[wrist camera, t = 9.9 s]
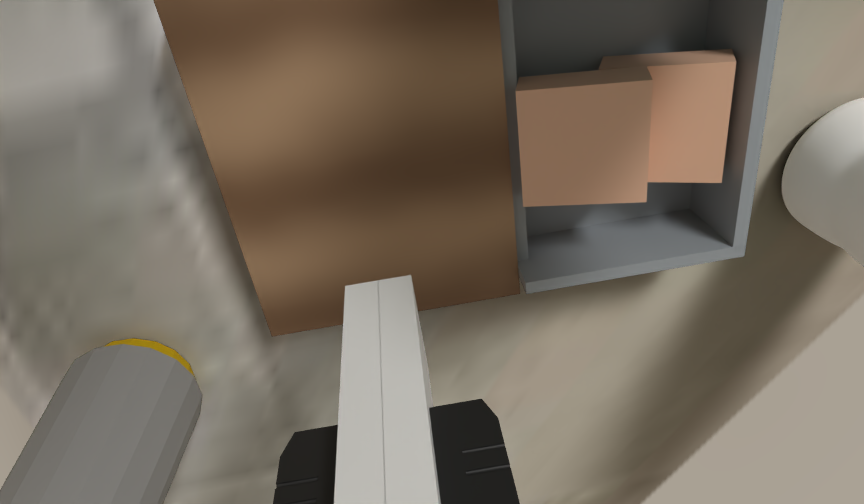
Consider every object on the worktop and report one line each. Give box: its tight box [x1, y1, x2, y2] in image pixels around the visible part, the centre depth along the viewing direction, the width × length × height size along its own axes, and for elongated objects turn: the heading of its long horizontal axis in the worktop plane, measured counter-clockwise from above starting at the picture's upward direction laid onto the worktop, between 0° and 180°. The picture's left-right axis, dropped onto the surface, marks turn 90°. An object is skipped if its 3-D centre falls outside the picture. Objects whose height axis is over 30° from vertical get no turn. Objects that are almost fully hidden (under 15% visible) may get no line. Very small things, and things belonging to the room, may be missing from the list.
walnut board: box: [154, 0, 520, 336], centre depth 25 cm, size 15×12×3 cm
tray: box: [498, 0, 784, 294], centre depth 25 cm, size 13×10×4 cm
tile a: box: [516, 66, 653, 207], centre depth 24 cm, size 5×5×2 cm
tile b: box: [599, 49, 736, 183], centre depth 25 cm, size 5×5×2 cm
